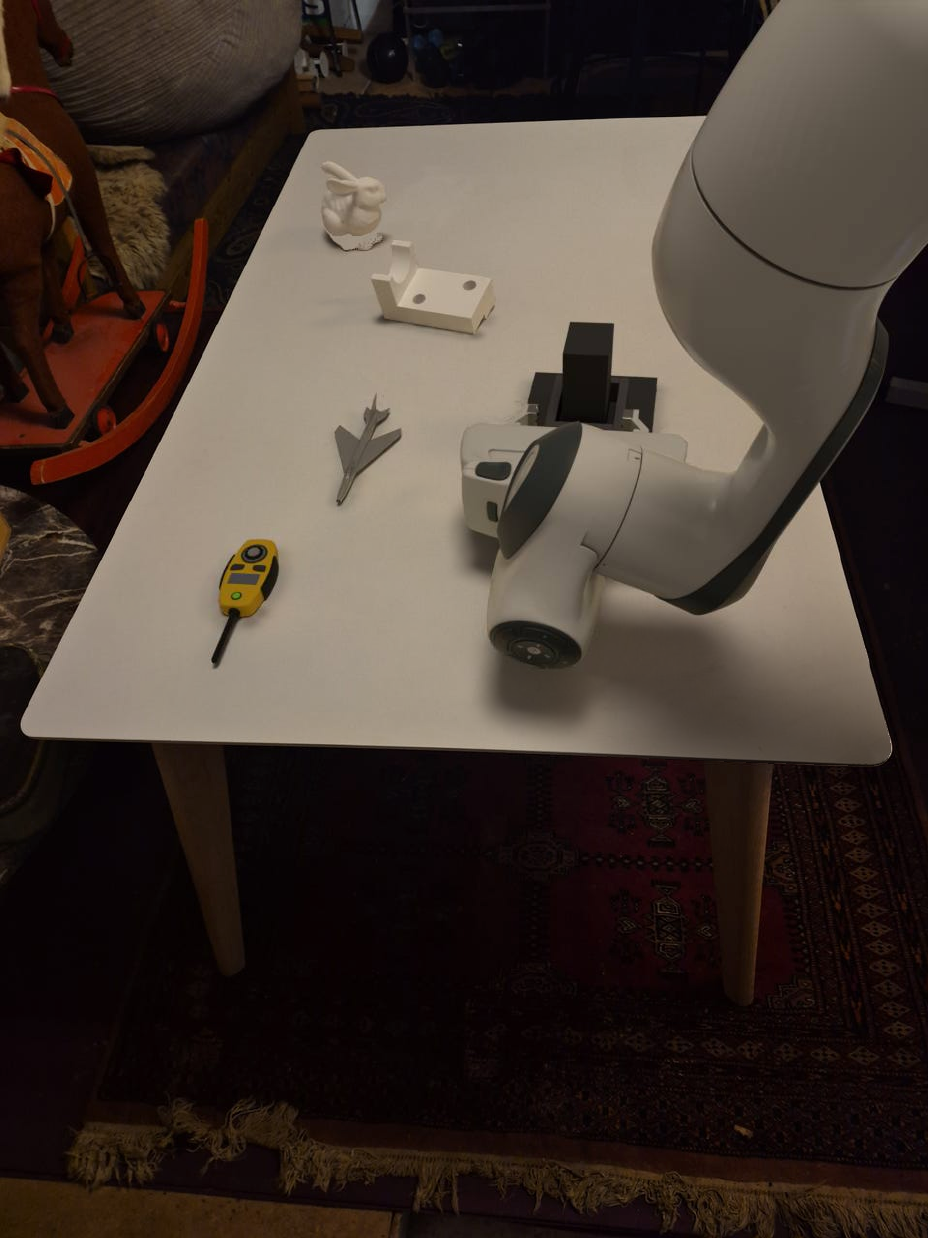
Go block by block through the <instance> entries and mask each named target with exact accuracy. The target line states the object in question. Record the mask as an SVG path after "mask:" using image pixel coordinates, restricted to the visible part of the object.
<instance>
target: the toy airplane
mask: <svg viewBox="0 0 928 1238" xmlns="http://www.w3.org/2000/svg"><path fill="white" fill-rule="evenodd" d="M384 391H385V392H387V389H384ZM377 394H378V392H375V395H374V397H373V400H372V404H371V408H369V407H368V406H366V407H365V409H364V411H363V415H362V416H363V417H364V420H365V421H366V425H365V427H364V429H363V431H362V433H361V436H360V438H358V437H356V435H354V434H353V433H352V432H350V431H349V430H348V429H346V428H345V427H343V426H342V425H341V424H339V425H338V426H337V427H336V429H335V431H334V437H335V439H336V444H337V448H338V451H339V456H340V460H341V463H342V467H343V471H344V475H343V477H342V480H341V482H340V485H339V489H338V491H337V496H336V501H335V502H336V503H337V504H341V503H342V501H343V500H344V499H345V497H346V495H347V494H348V492H349V490H350V488H351V485H352V483H353V481H354V479H355V476H356V474H357V473H359V472H360V471H361V470H362V469H364V467H366V466H367V465H368V464H370V463H371V462H372V461H373V460H374V459H375V458H376V457H378V456H379V455H380V454H381V453H382V452H383V451H384V450H386V449H387V448H388V447H389V446H390V445H391V444H393V443H394V442H395V441H396V440H397V439H398V438H400V437H401V434H402V427H400V428H398V429H395V430H392V431H390V432H387V433H384V434H382V435H380V436H376V437H374V438H371V437H372V435H373V432H374V430H375V427H376V425H377V424H378V423H379V422H380V421H382V420H383V419H385V418H386V417H387V416H388V414H389V412H390V410H391V407H388V408H386V409H383V410H381V411H380V410H379V409H377V398H378V397H377ZM382 397H385V395H384V394H382ZM382 404H383V403H382V402H380V403H379V405H380V406H381V405H382Z"/></svg>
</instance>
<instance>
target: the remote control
mask: <svg viewBox="0 0 928 1238" xmlns="http://www.w3.org/2000/svg"><path fill="white" fill-rule="evenodd" d="M279 569H280V564H279V551H278V548H277V545H276V542H275V541H274V540H272V539H263V538H253V539H248V540H246V541H245V542H244V543H243V544H242V545H241V546H240V548H239V549H238V550H237V552H236V553H233V555H232V556H231V557H230V559H229V561H228V562H227V563H226V566H225V567H224V569H223V572H222V574H221V576H220V580H219V585H218V589H219V595H218V604H219V607H220V609H221V612H222V613H223V614H224V615H226V616H228V619H227V620H226V623H225V625H224V628H223V630H222V632H221V635H220V637H219V639H218V641H217V645H216V647H215V649H214V651H213V654H212V656H211V657H210V658H211V663H212V664H216V663H218V661H219V658H220V656H221V654H222V652H223V649H224V647H225V645H226V642H227V639H228V637H229V635H230V632H231V630H232V629H233V625H234V623H235V620H236V619H238V618H239V617H241V618H242V617H250V616H252V615H254V614H255V613H256V611H257V610H258V609H259V608H260V606H261V605H262V604H263V602H264V601H266V600H267V598H269V595H270V594H271V593H272V590H273V588H274V586H275V584H276V581H277V579H278V573H279Z"/></svg>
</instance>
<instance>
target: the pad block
mask: <svg viewBox="0 0 928 1238" xmlns="http://www.w3.org/2000/svg"><path fill="white" fill-rule="evenodd" d="M614 332H615V323H614V322H591V321H590V322H588V321H570V322H569V323H568V328H567V333H566V338H565V341H564V347H563V351H562V365H561V366H562V368H561V369H562V370H561V373H562V422H577V421H579V422H580V423H597V424H607V418H608V412H609V404H610V387H611V375H612V369H613V353H614V352H613V351H614V335H615V333H614Z"/></svg>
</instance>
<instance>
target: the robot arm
mask: <svg viewBox="0 0 928 1238" xmlns="http://www.w3.org/2000/svg"><path fill="white" fill-rule="evenodd" d="M675 175H676V176H675V178H674V180H673V182H672V185H671V187H670V189H669V192H668V194H667V196H666V200H665V202H664V204H663V207H662V210H661V213H660V215H659V219H658V221H657V225H656V228H655V231H654V234H653V237H652V244H651V272H652V280H653V285H654V289H655V293H656V296H657V300H658V303H659V307H660V308H661V312H662V314H663V316H664V318H665V320H666V322H667V324H668V326H669V328H670V330H671V332H672V333H673V335H674V337H675V338H676V340H677V341H678V343H679V344H680V345H681V347H682V348H683V350H684V351H685V352H686V353H687V354H688V355H689V357H690V358H691V359H692V360H693V362H695V363H696V364H697V365H698V366H699V367H700V368H701V369H702V370H703V371H705V372H706V373H707V374H709V375H710V377H713V378H714V379H715V380H717V381H718V382H720V383H721V385H723V386H724V387H725V388H727V389H728V390H730V391H731V392H732V393H733V394H734V395H735V396H737V397H738V398H739V399H740V400H741V401H743V402H744V404H746V406H748V407H749V408H750V410H752V411H753V412H754V414H756V416H757V418H759V419H760V420H761V422H762V424H761V427H760V428H759V431H757V434H756V436H755V438H754V439H753V441H752V442H751V444H750V446H749V447H748V450H746V451H747V452H746V453H745V455H744V456H743V458H742V460H741V462H740V463H739V465H738V467H737V468H736V470H734V471H733V470H732V471H719V470H718V471H717V470H712V469H707V468H703V467H699V466H697V465H695V464H691V463H689V462H687V458H688V448H689V443H688V441H687V440H686V439H685V438H684V437H683V436H681V435H680V434H676V433H660V432H659V433H658V432H652V433H649V429H648V428H647V427H646V426H645V425H644V424H643V423H642V422H641V421H640V420H639V419H638V417H639V410H629V409H623V416H622V428H621V431H609V430H602V429H599V428H597V427H594V426H591V425H587V424H583V423H580V422H579V421H577V422H572V423H568V424H565V425H563V426H560V427H541V426H538V422H539V405H537V404H527V403H523V404H522V409H521V412H519V413H517V414H516V415H514V416H512V417H511V418H510V419H508V420H506V423H505V424H503V423H487V422H486V423H485V422H475V423H472V424H471V425H469V426H467V427H466V428H465V429H464V430H463V434H462V438H461V443H460V451H459V456H460V457H459V459H460V470H461V471H460V472H461V500H462V506H463V507H462V508H463V511H464V512H463V514H464V518H465V520H466V524H467V527H468V528H469V529H470V530H472V531H475V532H478V533H481V534H483V535H486V536H489V537H493V538H495V539H497V541H498V545H499V549H498V550H497V553H496V557H495V561H494V565H493V569H492V574H491V578H490V585H489V591H488V598H487V608H486V609H487V610H486V635H487V639H488V640H489V642H490V644H491V645H492V646H493V648H494V649H495V650H496V651H498V652H499V653H500V654H502V655H503V656H504V657H506V658H508V659H511V660H512V661H515V662H518V663H520V664H523V665H526V666H529V667H532V668H536V669H540V670H563V669H568V668H571V667H574V666H576V665H577V664H579V663H580V662H581V661H582V660H583V659H584V657H585V655H586V653H587V651H588V648H589V646H590V643H591V640H592V637H593V633H594V631H595V627H596V623H597V620H598V616H599V613H600V609H601V604H602V598H603V594H604V589H605V583H606V578H607V579H608V580H612V581H614V582H618V583H620V584H622V585H626V586H628V587H630V588H633V589H636V590H639V591H642V592H644V593H647V594H650V595H653V596H654V597H656V598H657V599H658V600H661V601H663V602H665V603H667V604H669V605H672V606H674V607H675V608H678V609H680V610H682V611H685V612H687V613H688V614H691V615H692V616H704V615H708V614H711V613H715V612H717V611H720V610H722V609H725V608H727V607H730V606H731V605H733V604H735V603H737V602H739V601H740V600H742V599H743V598H744V597H745V596H746V595H747V594H748V592H749V591H751V589H752V587H753V586H754V584H755V582H757V579H758V578H759V576H760V574H761V573H762V570H763V568H764V567H765V564H766V562H767V561H768V559H769V557H770V555H771V553H772V551H773V549H774V547H775V546H776V544H777V542H778V541H779V539H780V538H781V536H782V534H784V532H785V530H786V529H787V527H788V526H789V525H790V523H791V522H792V521H793V519H794V518H795V516H796V515H797V513H798V512H799V511H800V510H801V508H802V506H803V505H804V504H805V503H806V501H807V500H808V499H809V497H810V496H811V494H812V493H813V491H814V490H815V489H816V487H817V486H818V485H819V484H820V482H821V481H822V479H823V478H824V477H825V475H826V474H827V472H829V470H830V468H831V467H832V465H833V464H834V463H835V462H836V460H837V458H838V457H839V455H840V454H841V452H842V451H843V449H844V448H845V446H846V445H847V444H848V443H849V441H850V439H851V438H852V436H853V434H855V431H856V430H857V428H858V427H859V426H860V424H861V422H862V421H863V420H864V417H865V416H866V414H867V412H868V410H869V409H870V407H871V405H872V403H873V401H874V399H875V397H876V395H877V392H878V389H879V387H880V385H881V382H882V379H883V375H884V373H885V369H886V364H887V359H888V354H889V344H890V343H889V342H890V340H889V332H888V331H887V330H886V328H885V326H884V325H883V323H882V322H881V320H880V318H879V316H878V312H879V309H880V307H881V304H882V302H883V301H884V298H885V296H886V295H887V293H888V291H889V290H890V288H891V287H892V285H893V284H894V282H895V281H896V280H897V279H898V278H899V277H900V276H901V274H902V273H903V272H904V271H905V270H906V269H907V268H908V266H909V265H910V264H911V263H912V262H913V261H914V260H915V258H917V256H918V255H919V254H920V253H921V251H922V250H923V249H924V247H926V246H927V244H928V0H779V1H778V3H776V6H775V7H774V8H773V10H772V11H771V13H770V14H769V15H768V17H767V18H766V19H765V21H764V22H763V24H762V26H761V27H760V28H759V29H758V32H757V33H756V34H755V36H754V37H753V39H752V41H750V43H749V45H748V47H747V48H746V49H745V51H744V53H743V54H742V55H741V57H740V59H739V60H738V61H737V63H736V65H735V67H734V68H733V70H732V71H731V73H730V75H729V77H728V78H727V80H726V82H725V83H724V85H723V87H722V88H721V90H720V92H719V93H718V95H716V99H715V100H714V102H713V103H712V106H711V108H710V109H709V111H708V113H707V114H706V117H705V118H704V120H703V121H702V124H701V125H700V127H699V129H698V131H697V133H696V135H695V137H694V139H693V141H692V142H691V145H690V147H689V148H688V150H687V152H686V154H685V156H684V158H683V160H682V162H681V164H680V166H679V169H678V171H677V174H675Z"/></svg>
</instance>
